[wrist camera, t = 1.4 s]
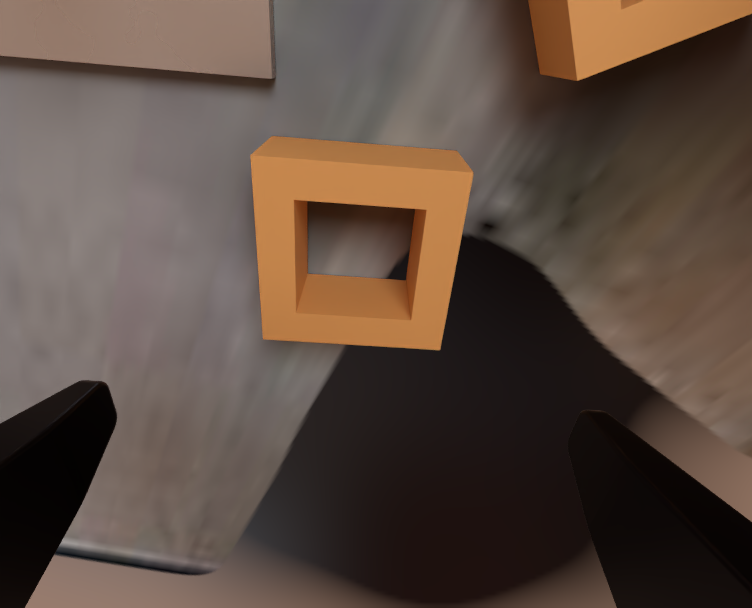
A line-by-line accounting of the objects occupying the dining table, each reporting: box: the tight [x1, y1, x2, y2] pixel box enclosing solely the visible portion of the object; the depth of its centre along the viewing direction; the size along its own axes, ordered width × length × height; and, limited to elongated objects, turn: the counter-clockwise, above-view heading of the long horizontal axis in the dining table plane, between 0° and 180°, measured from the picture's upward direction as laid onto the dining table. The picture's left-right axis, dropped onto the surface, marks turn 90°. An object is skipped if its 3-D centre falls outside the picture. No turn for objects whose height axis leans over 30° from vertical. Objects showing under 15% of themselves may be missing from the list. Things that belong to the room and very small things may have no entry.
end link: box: [251, 136, 473, 350], centre depth 15 cm, size 6×6×3 cm
